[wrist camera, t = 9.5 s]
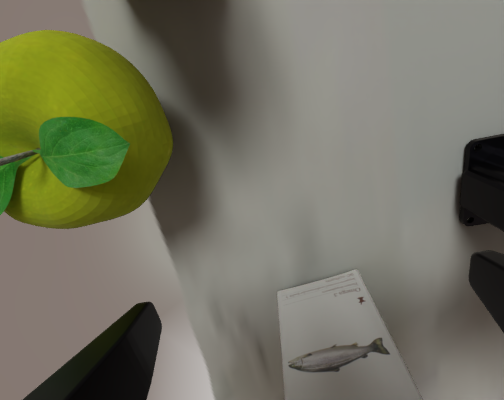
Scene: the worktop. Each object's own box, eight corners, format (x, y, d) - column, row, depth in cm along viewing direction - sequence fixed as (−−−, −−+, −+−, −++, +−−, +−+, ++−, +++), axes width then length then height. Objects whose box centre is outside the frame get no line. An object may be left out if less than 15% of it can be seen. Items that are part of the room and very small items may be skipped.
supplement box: (357, 265, 23) (458, 451, 11) (375, 327, 26) (470, 530, 14) (273, 288, 24) (286, 478, 12) (298, 345, 27) (328, 546, 15)
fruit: (207, 169, 20) (162, 242, 11) (93, 199, 21) (-34, 287, 12) (158, 28, 17) (33, -40, 7) (26, 73, 18) (-222, 62, 9)
